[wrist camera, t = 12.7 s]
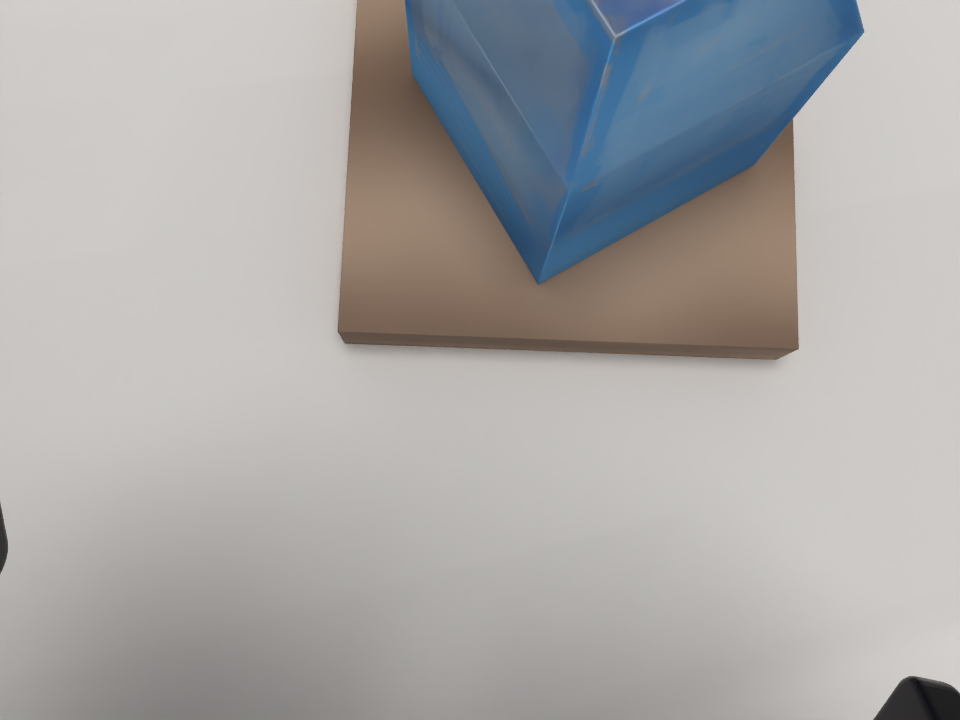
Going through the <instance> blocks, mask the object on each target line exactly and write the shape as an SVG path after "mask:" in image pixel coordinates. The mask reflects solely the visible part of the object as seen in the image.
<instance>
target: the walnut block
mask: <svg viewBox="0 0 960 720" xmlns="http://www.w3.org/2000/svg"><path fill="white" fill-rule="evenodd" d="M338 333H339V334H340V336H341V337H342V339H343V341H344V342H345V343H351V344H378V345H404V346H431V347H457V348H484V349H510V350H536V351H563V352H589V353H616V354H642V355H669V356H695V357H722V358H748V359H775V360H776V359H778V358H780V357H782V356H785V355H787V354H789V353H791V352H793V351H795V350H797V349H799V344H798V304H797V264H796V224H795V184H794V144H793V119H792V120H791V121H790V123H789V124H788V125H787V126H786V127H785V129H784V130H783V131H782V132H781V133H780V135H779V136H778V137H777V138H776V140H775V141H774V142H773V143H772V144H771V146H770V147H769V148H768V149H767V150H766V152H765V153H764V154H763V155H762V156H761V158H760V159H759V160H758V161H757V163H756V164H755V165H753V166H751V167H750V168H748V169H746V170H744V171H742V172H741V173H739V174H737V175H735V176H733V177H732V178H730V179H728V180H726V181H724V182H723V183H721V184H719V185H717V186H715V187H714V188H712V189H710V190H708V191H706V192H705V193H703V194H701V195H699V196H697V197H696V198H694V199H692V200H690V201H688V202H687V203H685V204H683V205H681V206H679V207H678V208H676V209H674V210H672V211H670V212H669V213H667V214H665V215H663V216H661V217H659V218H658V219H656V220H654V221H652V222H650V223H649V224H647V225H645V226H643V227H641V228H640V229H638V230H636V231H634V232H632V233H631V234H629V235H627V236H625V237H623V238H622V239H620V240H618V241H616V242H614V243H613V244H611V245H609V246H607V247H605V248H604V249H602V250H600V251H598V252H596V253H595V254H593V255H591V256H589V257H587V258H586V259H584V260H582V261H580V262H578V263H577V264H575V265H573V266H571V267H569V268H568V269H566V270H564V271H562V272H560V273H559V274H557V275H555V276H553V277H551V278H550V279H548V280H546V281H544V282H542V283H541V284H539V285H538V283H537V282H536V280H535V278H534V277H533V275H532V273H531V272H530V270H529V268H528V267H527V265H526V263H525V262H524V260H523V258H522V257H521V255H520V253H519V252H518V250H517V248H516V247H515V245H514V243H513V242H512V240H511V238H510V237H509V235H508V233H507V232H506V230H505V228H504V227H503V225H502V223H501V222H500V220H499V218H498V217H497V215H496V213H495V212H494V210H493V208H492V207H491V205H490V203H489V202H488V200H487V198H486V197H485V195H484V193H483V192H482V190H481V188H480V187H479V185H478V183H477V182H476V180H475V178H474V177H473V175H472V173H471V172H470V170H469V168H468V167H467V165H466V163H465V162H464V160H463V158H462V157H461V155H460V153H459V152H458V150H457V148H456V147H455V145H454V143H453V142H452V140H451V138H450V137H449V135H448V133H447V132H446V130H445V128H444V127H443V125H442V123H441V122H440V120H439V118H438V117H437V115H436V113H435V112H434V110H433V108H432V107H431V105H430V103H429V102H428V100H427V98H426V97H425V95H424V93H423V92H422V90H421V88H420V87H419V85H418V83H417V82H416V80H415V78H414V77H413V75H412V69H411V59H410V49H409V39H408V29H407V19H406V9H405V0H357V14H356V31H355V48H354V65H353V82H352V99H351V116H350V133H349V150H348V166H347V183H346V200H345V217H344V234H343V251H342V268H341V285H340V302H339V319H338Z"/></svg>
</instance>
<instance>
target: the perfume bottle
mask: <svg viewBox="0 0 960 720" xmlns="http://www.w3.org/2000/svg"><path fill="white" fill-rule="evenodd" d="M405 9H406V19H407V29H408V39H409V49H410V59H411V69H412V75H413V77H414V78H415V80H416V82H417V83H418V85H419V87H420V88H421V90H422V92H423V93H424V95H425V97H426V98H427V100H428V102H429V103H430V105H431V107H432V108H433V110H434V112H435V113H436V115H437V117H438V118H439V120H440V122H441V123H442V125H443V127H444V128H445V130H446V132H447V133H448V135H449V137H450V138H451V140H452V142H453V143H454V145H455V147H456V148H457V150H458V152H459V153H460V155H461V157H462V158H463V160H464V162H465V163H466V165H467V167H468V168H469V170H470V172H471V173H472V175H473V177H474V178H475V180H476V182H477V183H478V185H479V187H480V188H481V190H482V192H483V193H484V195H485V197H486V198H487V200H488V202H489V203H490V205H491V207H492V208H493V210H494V212H495V213H496V215H497V217H498V218H499V220H500V222H501V223H502V225H503V227H504V228H505V230H506V232H507V233H508V235H509V237H510V238H511V240H512V242H513V243H514V245H515V247H516V248H517V250H518V252H519V253H520V255H521V257H522V258H523V260H524V262H525V263H526V265H527V267H528V268H529V270H530V272H531V273H532V275H533V277H534V278H535V280H536V282H537V283H538V285H539V284H541V283H542V282H544V281H546V280H548V279H550V278H551V277H553V276H555V275H557V274H559V273H560V272H562V271H564V270H566V269H568V268H569V267H571V266H573V265H575V264H577V263H578V262H580V261H582V260H584V259H586V258H587V257H589V256H591V255H593V254H595V253H596V252H598V251H600V250H602V249H604V248H605V247H607V246H609V245H611V244H613V243H614V242H616V241H618V240H620V239H622V238H623V237H625V236H627V235H629V234H631V233H632V232H634V231H636V230H638V229H640V228H641V227H643V226H645V225H647V224H649V223H650V222H652V221H654V220H656V219H658V218H659V217H661V216H663V215H665V214H667V213H669V212H670V211H672V210H674V209H676V208H678V207H679V206H681V205H683V204H685V203H687V202H688V201H690V200H692V199H694V198H696V197H697V196H699V195H701V194H703V193H705V192H706V191H708V190H710V189H712V188H714V187H715V186H717V185H719V184H721V183H723V182H724V181H726V180H728V179H730V178H732V177H733V176H735V175H737V174H739V173H741V172H742V171H744V170H746V169H748V168H750V167H751V166H753V165H755V164H756V163H757V161H758V160H759V159H760V158H761V156H762V155H763V154H764V153H765V152H766V150H767V149H768V148H769V147H770V146H771V144H772V143H773V142H774V141H775V140H776V138H777V137H778V136H779V135H780V133H781V132H782V131H783V130H784V129H785V127H786V126H787V125H788V124H789V123H790V121H791V120H792V119H793V118H794V117H795V115H796V114H797V113H798V112H799V110H800V109H801V108H802V107H803V106H804V104H805V103H806V102H807V101H808V100H809V98H810V97H811V96H812V95H813V94H814V92H815V91H816V90H817V89H818V88H819V86H820V85H821V84H822V83H823V81H824V80H825V79H826V78H827V77H828V75H829V74H830V73H831V72H832V71H833V69H834V68H835V67H836V66H837V65H838V63H839V62H840V61H841V60H842V58H843V57H844V56H845V55H846V54H847V52H848V51H849V50H850V49H851V48H852V46H853V45H854V44H855V43H856V42H857V40H858V39H859V38H860V37H861V35H862V34H863V33H864V29H863V25H862V21H861V17H860V13H859V9H858V6H857V2H856V0H405Z"/></svg>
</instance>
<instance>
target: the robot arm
mask: <svg viewBox="0 0 960 720" xmlns="http://www.w3.org/2000/svg"><path fill="white" fill-rule="evenodd" d="M7 553H8V540H7V535H6V530H5V525H4V519H3V514H2V509H1V504H0V573H1V571H2V569H3V567H4V564H5V561H6V558H7ZM874 720H960V693H959V692H958V691H957V690H956V689H955V688H954V687H952V686H951V685H949V684H947V683H944V682H941V681H936V680H931V679H926V678H921V677H916V676H909V677H907V678H905V679H903V680H902V681H901V682H900V683H899V684H898V686H897V687H896V688H895V690H894V691H893V693H892V694H891V695H890V697H889V698H888V700H887V701H886V703H885V704H884V705H883V707H882V708H881V710H880V711H879V712H878V714H877V715H876V717H875V718H874Z"/></svg>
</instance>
